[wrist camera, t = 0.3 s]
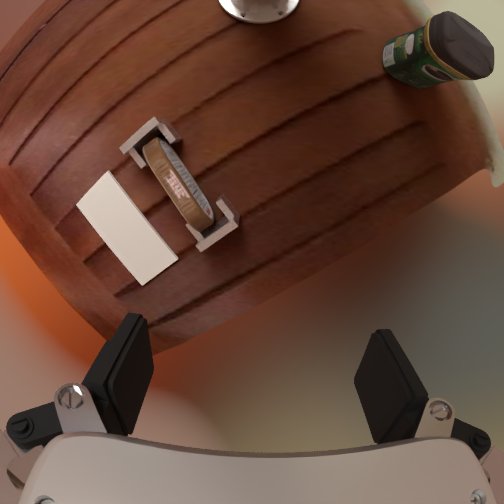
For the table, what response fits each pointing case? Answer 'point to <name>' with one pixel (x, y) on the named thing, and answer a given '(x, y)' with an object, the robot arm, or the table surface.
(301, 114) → the table surface
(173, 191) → the tin
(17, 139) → the table surface
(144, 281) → the mat
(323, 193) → the table surface
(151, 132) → the end brackets
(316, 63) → the table surface
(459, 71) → the coffee jar
